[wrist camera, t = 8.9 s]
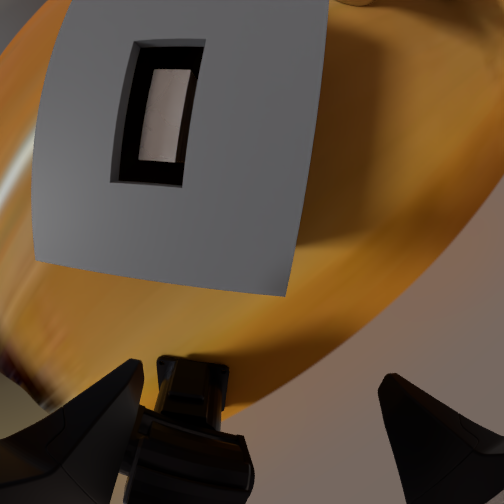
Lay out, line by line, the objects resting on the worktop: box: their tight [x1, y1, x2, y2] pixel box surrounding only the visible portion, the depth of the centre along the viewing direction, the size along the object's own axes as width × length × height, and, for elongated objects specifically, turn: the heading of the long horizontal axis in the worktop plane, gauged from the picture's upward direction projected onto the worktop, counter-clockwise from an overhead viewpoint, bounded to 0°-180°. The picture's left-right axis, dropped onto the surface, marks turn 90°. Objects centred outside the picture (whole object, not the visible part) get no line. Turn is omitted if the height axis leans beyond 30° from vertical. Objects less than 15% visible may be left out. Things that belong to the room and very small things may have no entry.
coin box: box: [31, 0, 329, 297], centre depth 13 cm, size 16×14×7 cm
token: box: [138, 69, 197, 162], centre depth 14 cm, size 5×2×5 cm, turn 171°
